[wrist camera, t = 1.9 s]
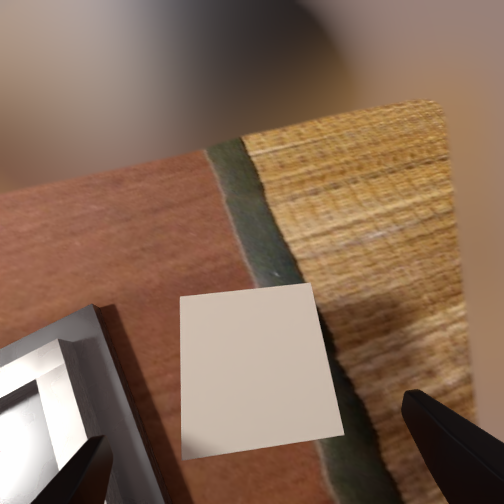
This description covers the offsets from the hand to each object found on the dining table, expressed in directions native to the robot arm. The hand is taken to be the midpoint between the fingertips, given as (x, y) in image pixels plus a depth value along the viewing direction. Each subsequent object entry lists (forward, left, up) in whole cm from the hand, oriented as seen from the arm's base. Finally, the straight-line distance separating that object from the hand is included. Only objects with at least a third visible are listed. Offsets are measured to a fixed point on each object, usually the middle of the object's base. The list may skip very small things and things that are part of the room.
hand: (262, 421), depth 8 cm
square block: (+1, -1, -10) cm, 10 cm away
